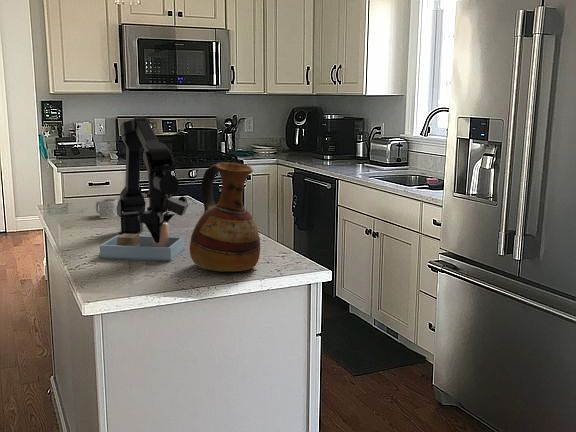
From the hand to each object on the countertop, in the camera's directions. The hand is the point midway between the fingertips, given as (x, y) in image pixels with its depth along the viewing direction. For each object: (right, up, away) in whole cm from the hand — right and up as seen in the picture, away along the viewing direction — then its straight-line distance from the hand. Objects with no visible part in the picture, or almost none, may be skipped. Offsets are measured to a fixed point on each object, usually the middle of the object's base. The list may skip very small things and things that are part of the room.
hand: (160, 240), depth 192 cm
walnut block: (-10, -3, +2) cm, 11 cm away
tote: (-5, -4, +1) cm, 7 cm away
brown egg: (0, -2, 0) cm, 2 cm away
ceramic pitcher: (+21, -8, -13) cm, 25 cm away
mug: (-33, +7, +56) cm, 65 cm away
